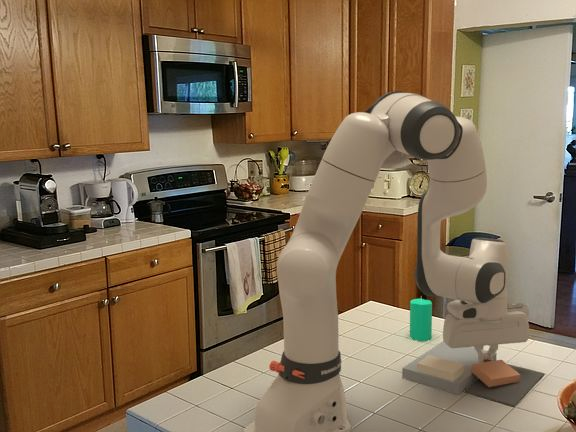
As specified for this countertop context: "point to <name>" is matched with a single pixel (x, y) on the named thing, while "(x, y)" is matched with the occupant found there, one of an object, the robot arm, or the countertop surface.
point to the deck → (444, 351)
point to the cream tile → (441, 368)
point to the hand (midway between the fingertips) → (485, 361)
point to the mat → (507, 387)
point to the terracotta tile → (495, 373)
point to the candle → (421, 319)
